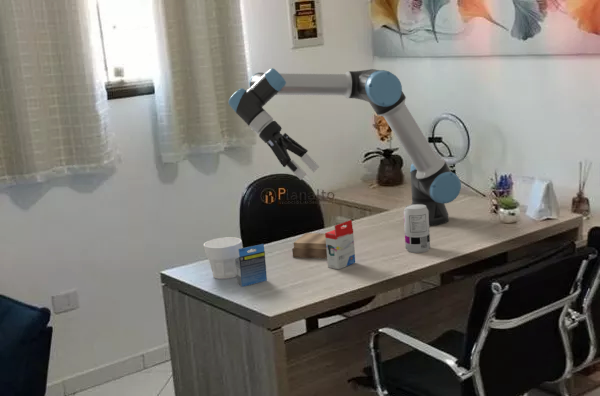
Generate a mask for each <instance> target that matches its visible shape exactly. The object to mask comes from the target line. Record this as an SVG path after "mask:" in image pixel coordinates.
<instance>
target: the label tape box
mask: <svg viewBox="0 0 600 396" xmlns="http://www.w3.org/2000/svg"><path fill="white" fill-rule="evenodd" d="M251 250H253V251H251ZM254 250H255V251H254ZM238 251H239V257H238V258H236V259H235V265H236V283H237V285H239V286H240V287H242V288H243V287H247V286H251V285H254V284H258V283H259V284H260V283H263V282H266V281H267V280H268V278H267V276H268V275H267V265H266V252H265V251H266V250H265V244H264V243H261V244H256V245H251V246H247V247H242V248H240V249H238ZM250 251H251V252H250Z"/></svg>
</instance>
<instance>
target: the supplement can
mask: <svg viewBox="0 0 600 396" xmlns="http://www.w3.org/2000/svg"><path fill="white" fill-rule="evenodd" d="M411 204H412V203H411ZM411 204H408V205H406V206H404V207H405V208H404V209H403V224H404V226H403V228H404V242H405V244H404V245H405V246H404V248H405V249H406V250H407V252H409V253H414V254H417V253H425V252H428V251H429V249H430V248H431V237H430V226H429V213H428V209H427V207H426V205H423V204H412V205H411Z"/></svg>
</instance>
